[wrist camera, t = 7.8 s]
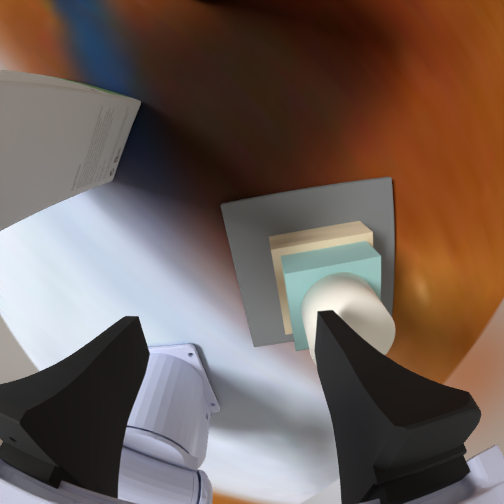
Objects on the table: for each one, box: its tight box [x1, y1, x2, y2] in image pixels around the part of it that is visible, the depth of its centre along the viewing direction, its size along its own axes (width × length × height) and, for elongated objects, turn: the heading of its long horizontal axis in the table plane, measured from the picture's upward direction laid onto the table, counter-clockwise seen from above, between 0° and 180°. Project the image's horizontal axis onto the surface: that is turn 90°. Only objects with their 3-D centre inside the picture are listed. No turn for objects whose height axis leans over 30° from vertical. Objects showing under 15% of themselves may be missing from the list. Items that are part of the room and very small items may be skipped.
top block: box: [281, 241, 381, 351], centre depth 18 cm, size 6×6×2 cm
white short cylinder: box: [301, 272, 395, 366], centre depth 15 cm, size 4×4×4 cm
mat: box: [221, 177, 395, 347], centre depth 21 cm, size 12×12×1 cm
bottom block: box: [269, 221, 373, 335], centre depth 20 cm, size 6×6×2 cm
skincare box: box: [0, 70, 141, 231], centre depth 10 cm, size 8×7×16 cm
